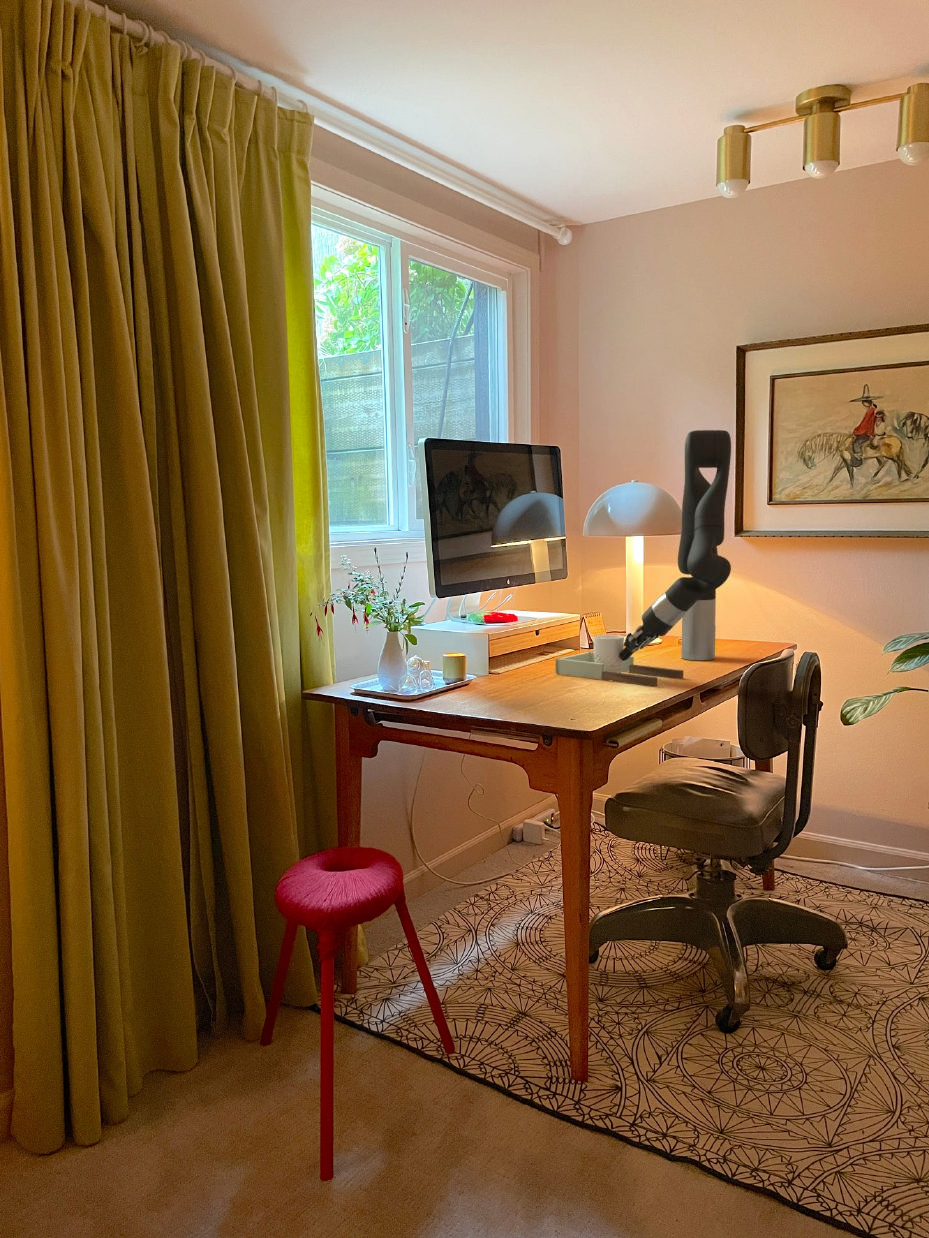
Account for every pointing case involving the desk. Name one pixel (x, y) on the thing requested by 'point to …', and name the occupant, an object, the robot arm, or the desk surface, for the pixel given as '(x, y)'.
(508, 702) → the desk surface
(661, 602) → the robot arm
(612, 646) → the white cup
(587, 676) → the tray
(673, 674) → the channel
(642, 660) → the desk surface
